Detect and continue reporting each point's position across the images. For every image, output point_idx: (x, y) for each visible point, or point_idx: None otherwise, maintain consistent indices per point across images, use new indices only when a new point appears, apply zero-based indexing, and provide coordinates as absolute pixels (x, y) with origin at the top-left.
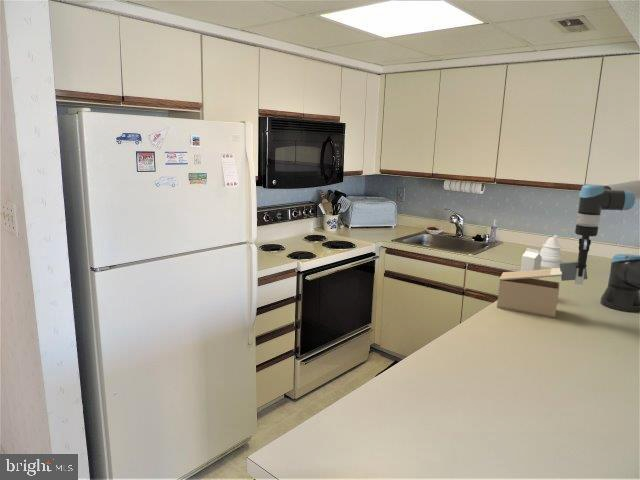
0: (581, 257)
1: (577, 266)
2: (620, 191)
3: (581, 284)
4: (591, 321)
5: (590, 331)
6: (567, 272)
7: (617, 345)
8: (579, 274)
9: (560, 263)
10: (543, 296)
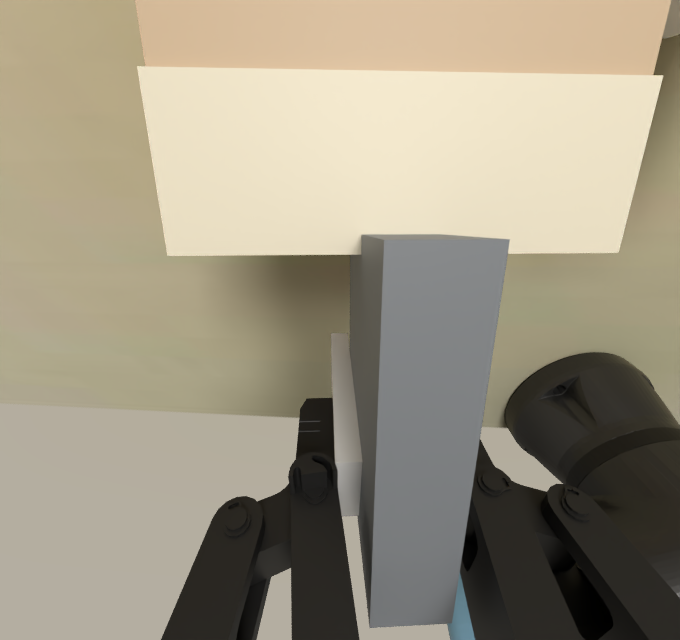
0: None
1: (305, 490)
2: None
3: (331, 373)
4: (331, 318)
5: (204, 312)
6: (358, 318)
7: (131, 377)
8: (300, 424)
9: (408, 264)
10: None
